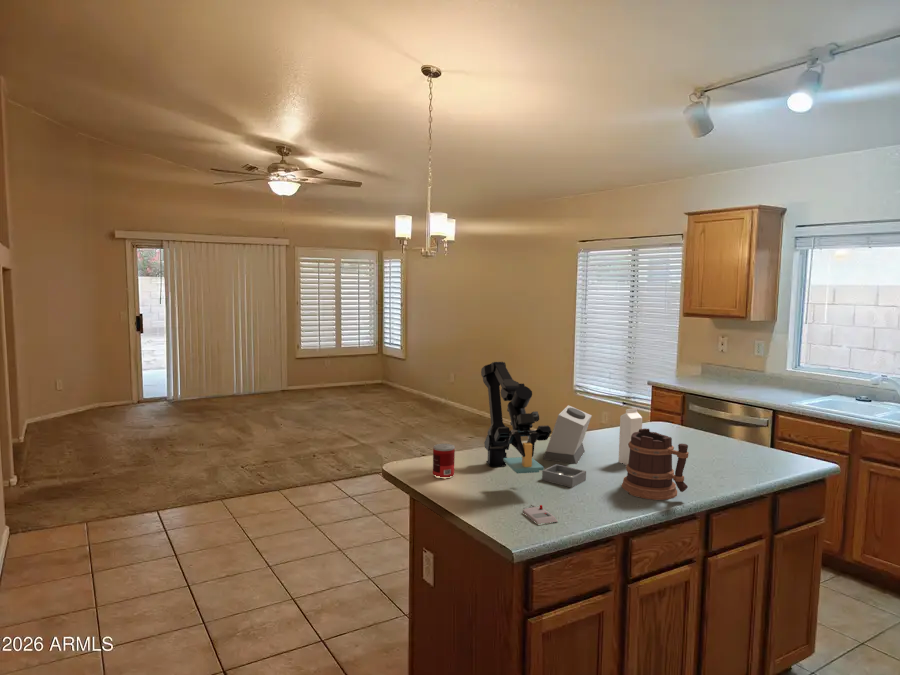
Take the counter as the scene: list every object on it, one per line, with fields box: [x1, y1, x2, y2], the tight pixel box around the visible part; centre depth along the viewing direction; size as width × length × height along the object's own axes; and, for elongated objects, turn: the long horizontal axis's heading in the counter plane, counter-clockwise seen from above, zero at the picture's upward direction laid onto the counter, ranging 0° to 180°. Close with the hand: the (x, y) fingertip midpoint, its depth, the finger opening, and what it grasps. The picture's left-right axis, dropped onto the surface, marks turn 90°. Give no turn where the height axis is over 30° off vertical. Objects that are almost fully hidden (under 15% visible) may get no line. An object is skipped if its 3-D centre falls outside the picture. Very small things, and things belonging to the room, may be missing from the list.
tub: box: [541, 463, 587, 488], centre depth 205 cm, size 12×10×4 cm
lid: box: [503, 442, 545, 475], centre depth 194 cm, size 12×10×10 cm
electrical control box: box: [522, 504, 559, 525], centre depth 173 cm, size 7×16×3 cm, turn 21°
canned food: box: [432, 443, 456, 477], centre depth 209 cm, size 8×8×11 cm
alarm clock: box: [542, 404, 593, 465], centre depth 236 cm, size 20×16×20 cm
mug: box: [621, 428, 690, 501], centre depth 196 cm, size 18×23×20 cm
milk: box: [617, 407, 643, 466], centre depth 227 cm, size 6×6×22 cm
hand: (528, 456), depth 189 cm, fingers closed on lid, 2 cm apart
